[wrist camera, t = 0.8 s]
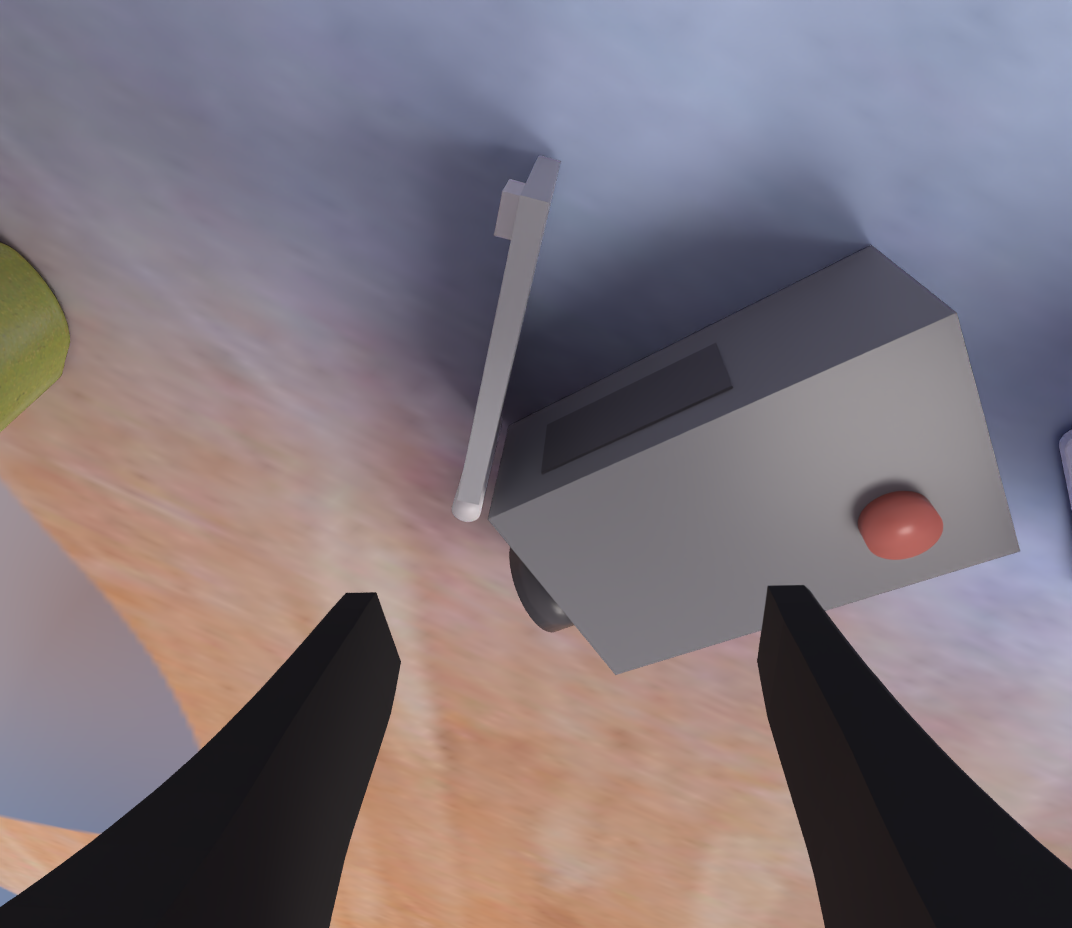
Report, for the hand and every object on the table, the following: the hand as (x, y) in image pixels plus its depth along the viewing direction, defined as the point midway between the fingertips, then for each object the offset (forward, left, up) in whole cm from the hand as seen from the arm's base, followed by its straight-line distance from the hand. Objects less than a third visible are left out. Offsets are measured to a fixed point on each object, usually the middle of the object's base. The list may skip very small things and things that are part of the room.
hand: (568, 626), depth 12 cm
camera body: (-3, +4, -10) cm, 12 cm away
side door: (+1, -3, -10) cm, 10 cm away
